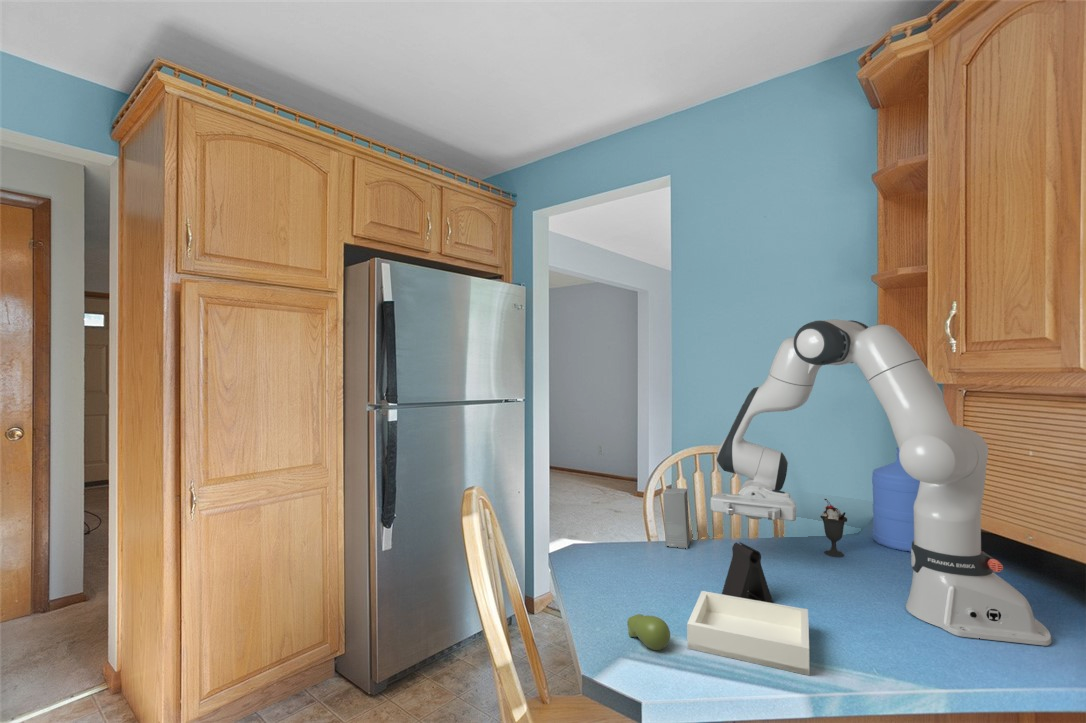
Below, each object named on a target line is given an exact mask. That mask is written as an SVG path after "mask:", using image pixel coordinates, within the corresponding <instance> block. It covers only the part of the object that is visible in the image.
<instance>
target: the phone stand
mask: <svg viewBox="0 0 1086 723" xmlns="http://www.w3.org/2000/svg"><path fill="white" fill-rule="evenodd" d="M761 560H762V554H761V552H760V551H759V550H756V549H755V548H753V547H751V546H748V545H747V544H744V543H743V542H741V541H739V542H735V543H733V545H732V557H731V561H730V564H729V567H728V571H727V574H726V577H725V578H726V579H725V582H724V585H723V589H722V591H721V592H722V593H721V594H723V595H729V596H734V597H740V598H746V599H751V600H757V601H763V602H768V603H774V600H773V598H772V595H771V592H770V588H769V585H768V583H767V580H766V576H765V573H764V570H763V567H762V561H761Z"/></svg>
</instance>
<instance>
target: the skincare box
mask: <svg viewBox="0 0 1086 723" xmlns="http://www.w3.org/2000/svg"><path fill="white" fill-rule="evenodd" d="M663 490H664V491H663V493H662V499H663V503H662V504H663V519H664V520H663V522H664V535H665V536H664V538H665V547H667V546H669V548H670V547H671V548H677V547H678V548H677V549H685V548H686V549H685V550H688V548H689V546H690V543H691V536H690V535H691V534H690V520H689V519H690V518H689V499H688V498H689V497H688V488H678V487H677V488H676V487H675V488H674V487H673V488H672V487H666V489H663Z"/></svg>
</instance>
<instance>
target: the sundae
mask: <svg viewBox="0 0 1086 723" xmlns="http://www.w3.org/2000/svg"><path fill="white" fill-rule="evenodd" d="M823 501H826V502H827V506H825V507H824V509H825V510H824V511H823V512H822V514H821V515H820V518H821V519H822V522H823V528H824V532H825V537H826V538H828V540H829V541H830V542H831V547H830V549H827V550H824V552H823V553H824V554H825V555H826V556H829V557H834V558H841V557H844V556H845V553H843V552H841V551H839V550H838V548H837V542H839V541H840V540H841V539H842V538H843V534H844V527H845V523H847V522H848V517H846V516H845V515H846V512H845V511H844V512H843V513H841V510H840V509H838V508H836V507H835V506H834V505H832V504H831V502H830V501H829V500H828V499H827V498H824V499H823Z"/></svg>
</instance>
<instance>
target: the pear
mask: <svg viewBox="0 0 1086 723" xmlns="http://www.w3.org/2000/svg"><path fill="white" fill-rule="evenodd" d="M626 626H627V629H628V630H627V631H628V636H629V637H630V638H637V637H638V639H639V641H640V642H641V643H642V644H644V646H646V647H647V648H649V649H650V650H653V651H660V650H663V649H665V648H666V647H667V646H668V645H669V642H670V640H671V631H670V627H669V626H668V624H667V623H666V621H664V620H663V619H662V618H660V617H658V616H655V615H644V614H641V613H637V614H635V615H631V616H630V617H628V619H627V625H626Z"/></svg>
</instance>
